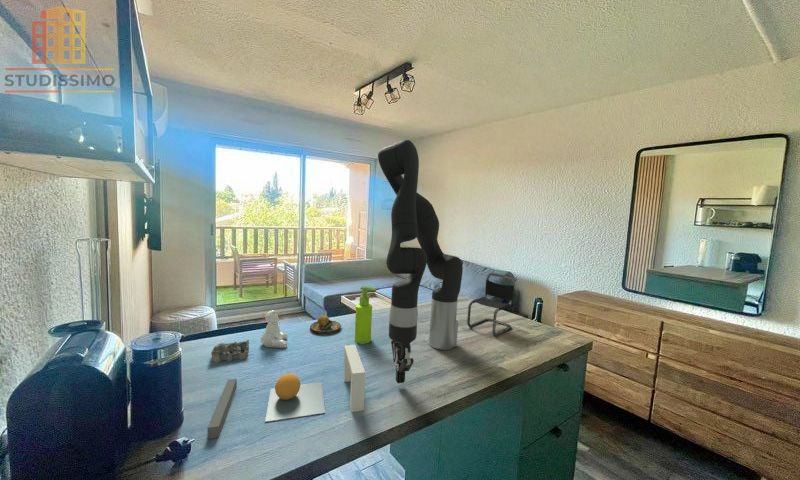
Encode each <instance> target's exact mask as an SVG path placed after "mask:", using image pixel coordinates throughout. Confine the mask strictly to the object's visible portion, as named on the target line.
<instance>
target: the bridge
mask: <svg viewBox="0 0 800 480" xmlns="http://www.w3.org/2000/svg"><path fill="white" fill-rule="evenodd" d="M343 349H344V350H343V353H344V354H343V372H342V373H343V375H342V376H343V382H344V383H349V382H350V397H349V398H350V399H349V409H350V412H351V413H354V412H362V411H364V408H365V386H366V385H365V384H366V370H365V368H364V365H363V363H362V359H361V358H360V354H359V352H358V349H357V346H356V344H345V345H344V348H343Z"/></svg>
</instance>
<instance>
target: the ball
mask: <svg viewBox="0 0 800 480" xmlns="http://www.w3.org/2000/svg"><path fill="white" fill-rule="evenodd" d="M300 385H301V380H300V378H299V377H298V375H296V374H294V373H284V374H283V375H281V376H280V377H279V378H278V379H277V381H276V382H275V386H274V388H275V392H276V394H277V396H278V397H279V398H280V399H283V400H289V399H292V398H293V397H295V396H296V395H297V394H298V392H299V390H300Z"/></svg>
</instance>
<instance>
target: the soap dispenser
mask: <svg viewBox="0 0 800 480" xmlns="http://www.w3.org/2000/svg"><path fill="white" fill-rule="evenodd" d="M376 289H377V288H375V287H372V286H361V287H360V290H361V295H359V303H357V304H356V305H355V323H354V325H355V326H354V341H355V343H357V344H364V345H365V344H368V343H370V342H371V340H372V325H373V324H372V323H373V319H372V317H373V305H372V304H371V303H370V295H368V291H372V292H375V291H376Z"/></svg>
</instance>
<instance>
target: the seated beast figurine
mask: <svg viewBox="0 0 800 480" xmlns="http://www.w3.org/2000/svg"><path fill="white" fill-rule="evenodd" d="M264 318H265V321H266V322H267V324H266V327H265V331H264V332H263V334H261V337H260V343H261V344H262V345H263V346H265V347H266V348H275V349H286V348H287V347H288V342H287V341H285V340H287V339H288V333H286V332H282V331H281V330H280V326H279V321H280V319H279V314H277V312H276V311H275V310H274V309H271V310H270V311H268V312H266V314H265V316H264Z"/></svg>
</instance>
